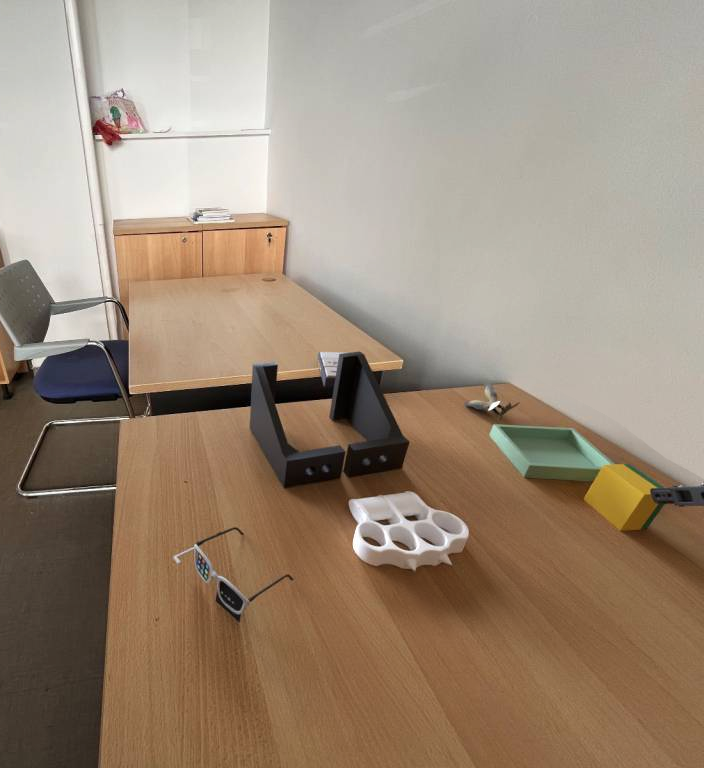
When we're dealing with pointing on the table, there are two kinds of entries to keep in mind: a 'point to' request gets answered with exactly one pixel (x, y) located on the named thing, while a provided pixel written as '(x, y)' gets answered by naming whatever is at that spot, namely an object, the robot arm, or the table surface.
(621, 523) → the sponge
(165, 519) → the table surface
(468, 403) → the eagle figurine
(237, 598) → the smart glasses
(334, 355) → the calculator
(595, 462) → the tray
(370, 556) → the white brass knuckles
